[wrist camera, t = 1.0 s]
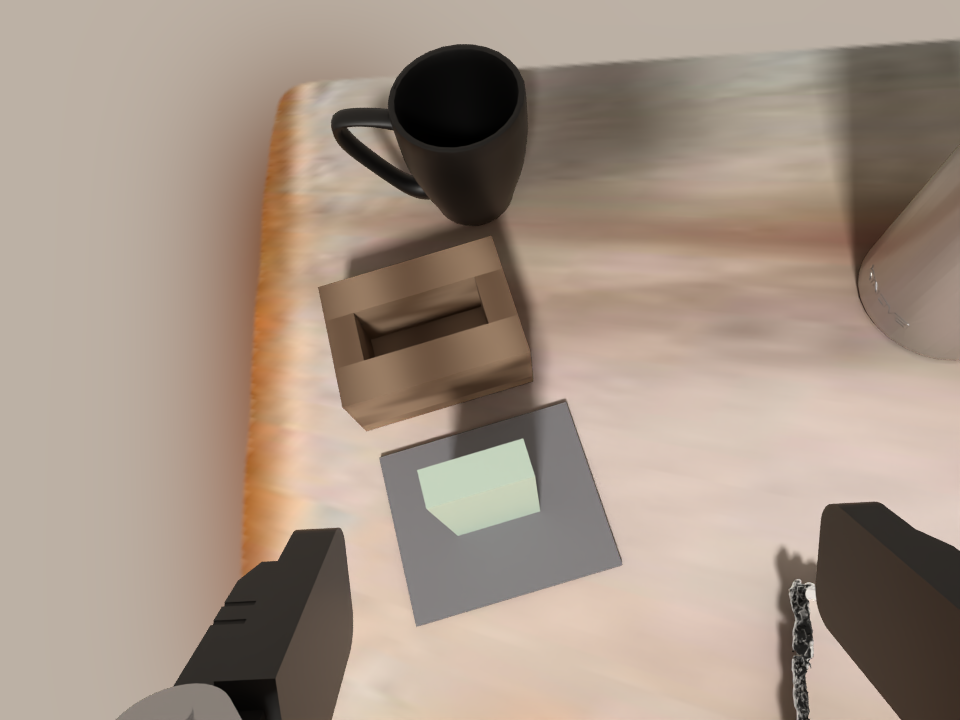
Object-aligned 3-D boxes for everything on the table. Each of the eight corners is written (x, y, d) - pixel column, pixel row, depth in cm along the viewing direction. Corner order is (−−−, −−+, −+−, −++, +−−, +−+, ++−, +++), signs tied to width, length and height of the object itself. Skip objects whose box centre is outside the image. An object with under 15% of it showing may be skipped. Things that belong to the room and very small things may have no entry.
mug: (371, 153, 50) (331, 53, 41) (530, 143, 48) (524, 37, 40) (363, 247, 47) (317, 160, 38) (532, 239, 45) (526, 148, 36)
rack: (498, 275, 45) (491, 235, 40) (533, 381, 41) (530, 351, 37) (342, 321, 45) (318, 287, 40) (366, 431, 41) (342, 407, 37)
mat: (565, 403, 41) (566, 401, 40) (621, 565, 37) (622, 564, 37) (380, 458, 41) (379, 457, 40) (417, 626, 37) (416, 626, 37)
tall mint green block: (531, 481, 39) (523, 438, 30) (540, 511, 38) (535, 476, 29) (450, 505, 39) (417, 470, 30) (457, 535, 38) (426, 508, 29)
